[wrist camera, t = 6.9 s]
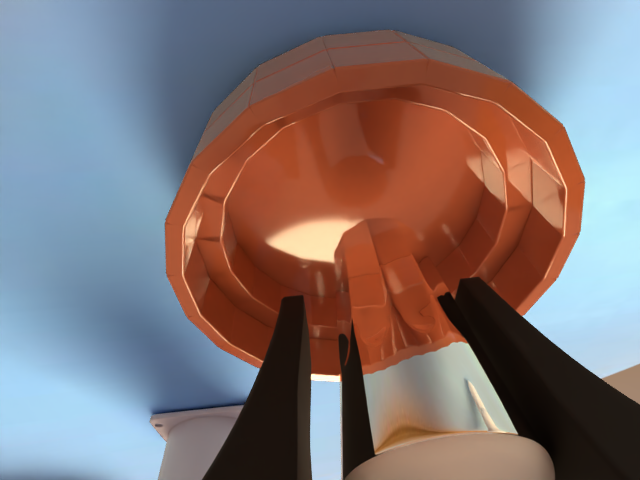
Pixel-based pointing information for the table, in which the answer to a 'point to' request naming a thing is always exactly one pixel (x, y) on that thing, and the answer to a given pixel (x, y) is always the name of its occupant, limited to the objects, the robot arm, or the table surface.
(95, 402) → the table surface
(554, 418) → the robot arm
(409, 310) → the milkshake
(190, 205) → the bowl
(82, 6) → the table surface
